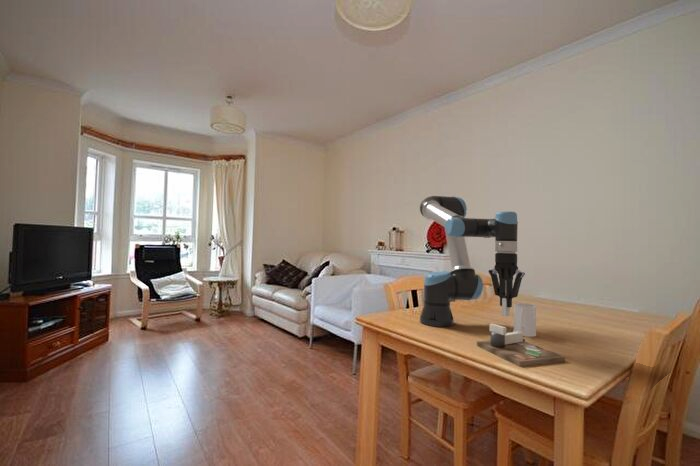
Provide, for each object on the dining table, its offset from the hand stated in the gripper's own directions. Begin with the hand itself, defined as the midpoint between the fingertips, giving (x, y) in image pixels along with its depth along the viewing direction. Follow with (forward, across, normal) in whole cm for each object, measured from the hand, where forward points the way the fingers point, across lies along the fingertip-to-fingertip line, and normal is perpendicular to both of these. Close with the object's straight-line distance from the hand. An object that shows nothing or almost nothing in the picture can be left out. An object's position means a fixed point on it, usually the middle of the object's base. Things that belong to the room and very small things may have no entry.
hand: (505, 315), depth 121 cm
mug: (+11, -2, +18) cm, 21 cm away
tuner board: (+11, +8, -6) cm, 15 cm away
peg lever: (+9, +3, -4) cm, 10 cm away
